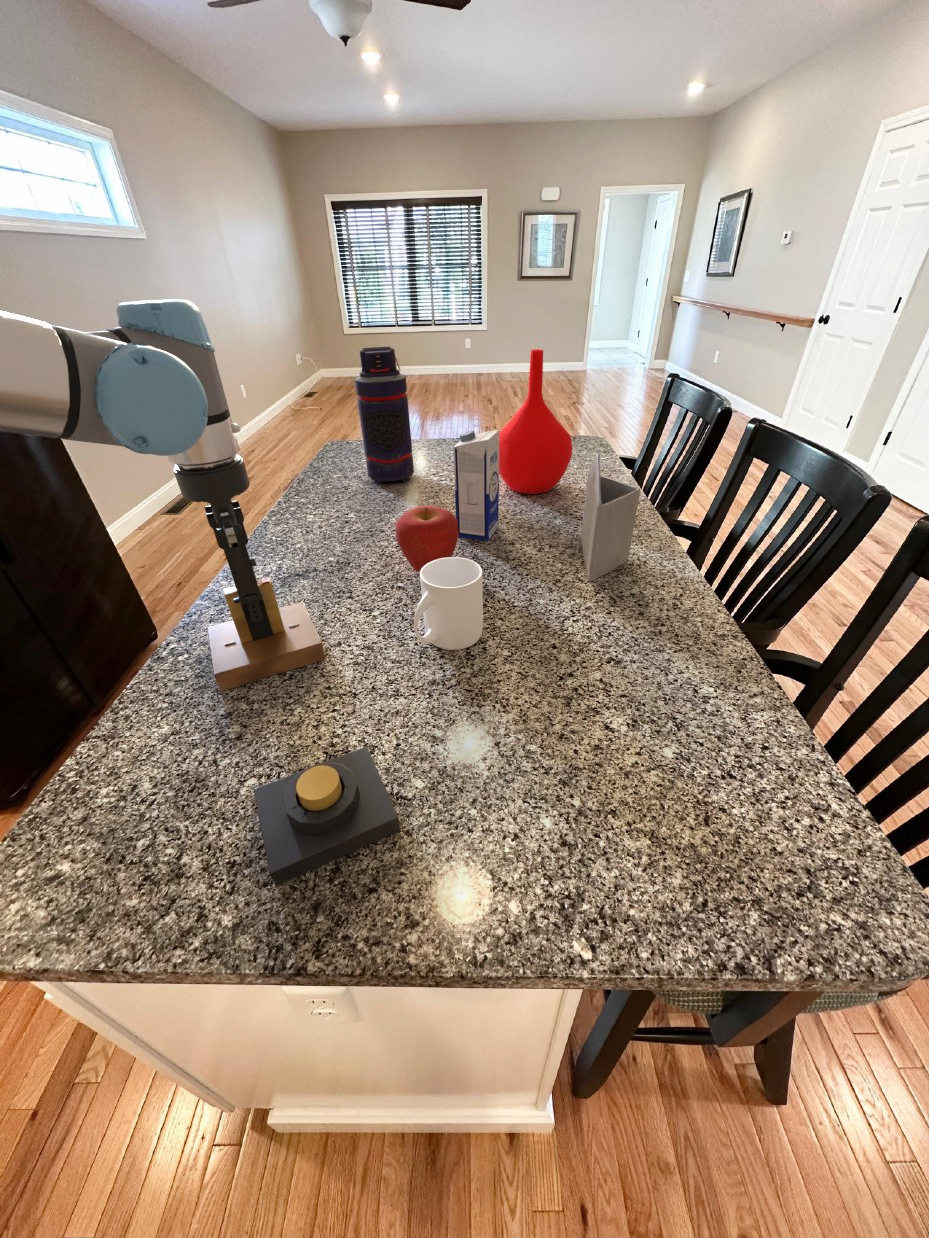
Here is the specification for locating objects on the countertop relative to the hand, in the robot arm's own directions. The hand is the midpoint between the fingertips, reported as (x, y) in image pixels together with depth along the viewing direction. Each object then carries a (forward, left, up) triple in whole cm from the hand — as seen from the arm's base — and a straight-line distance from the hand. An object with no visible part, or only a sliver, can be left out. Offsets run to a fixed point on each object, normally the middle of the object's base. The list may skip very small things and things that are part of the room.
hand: (259, 623), depth 72 cm
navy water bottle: (+41, +61, -5) cm, 74 cm away
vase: (+68, +36, -5) cm, 77 cm away
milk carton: (+45, +20, -5) cm, 50 cm away
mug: (+24, -10, -5) cm, 27 cm away
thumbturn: (0, 0, -2) cm, 2 cm away
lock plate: (0, 0, -5) cm, 5 cm away
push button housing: (+1, -31, -5) cm, 31 cm away
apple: (+30, +10, -5) cm, 32 cm away
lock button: (+1, -31, -1) cm, 31 cm away
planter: (+60, -2, -5) cm, 60 cm away
